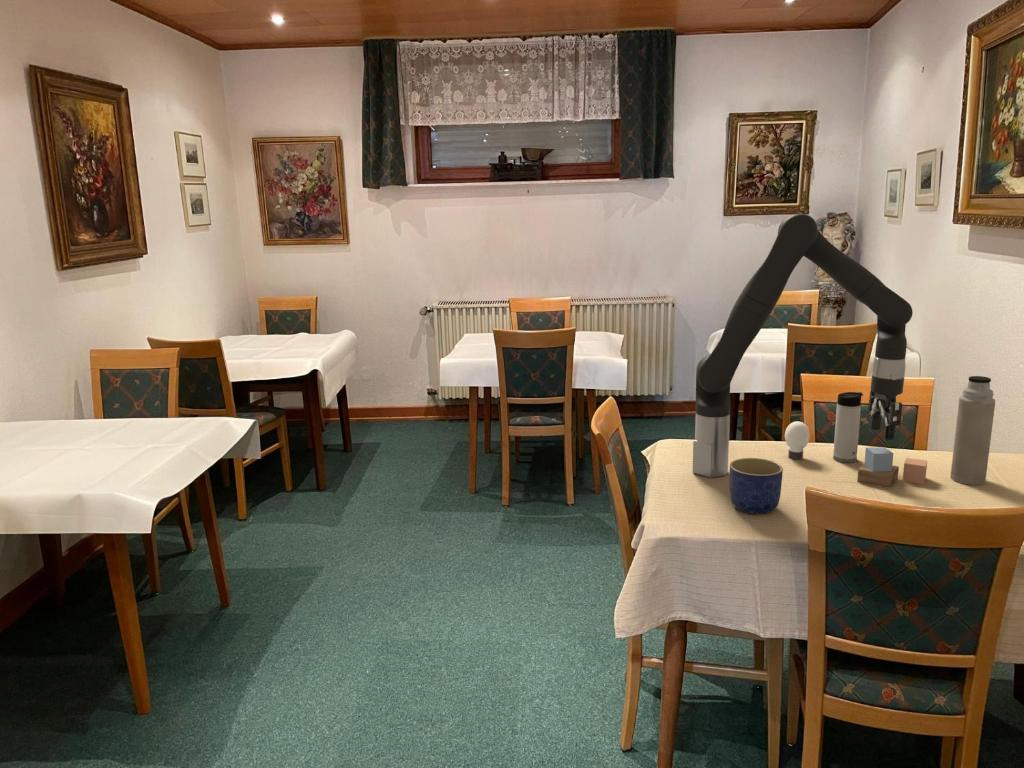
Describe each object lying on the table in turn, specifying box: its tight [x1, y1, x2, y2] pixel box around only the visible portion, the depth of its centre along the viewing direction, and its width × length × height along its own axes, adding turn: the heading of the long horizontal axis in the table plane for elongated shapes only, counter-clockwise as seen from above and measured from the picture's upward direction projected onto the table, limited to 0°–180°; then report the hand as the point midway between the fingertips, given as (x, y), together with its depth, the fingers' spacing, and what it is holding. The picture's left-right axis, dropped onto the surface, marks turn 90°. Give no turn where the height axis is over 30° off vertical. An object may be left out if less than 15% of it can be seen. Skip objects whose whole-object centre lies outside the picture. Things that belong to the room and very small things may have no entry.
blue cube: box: [863, 446, 894, 472], centre depth 196 cm, size 5×5×5 cm
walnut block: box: [857, 463, 900, 489], centre depth 197 cm, size 8×8×4 cm
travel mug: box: [832, 391, 864, 464], centre depth 212 cm, size 6×7×20 cm
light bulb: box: [784, 420, 811, 460], centre depth 216 cm, size 7×7×11 cm
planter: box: [729, 457, 784, 515], centre depth 182 cm, size 12×12×11 cm
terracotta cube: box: [902, 457, 928, 485], centre depth 197 cm, size 5×5×5 cm
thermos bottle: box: [949, 375, 996, 486], centre depth 192 cm, size 8×8×28 cm
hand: (881, 434), depth 194 cm, fingers open, 8 cm apart
